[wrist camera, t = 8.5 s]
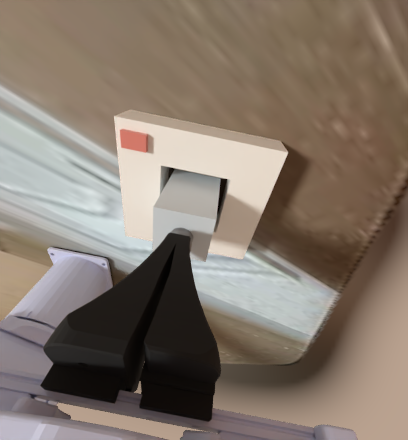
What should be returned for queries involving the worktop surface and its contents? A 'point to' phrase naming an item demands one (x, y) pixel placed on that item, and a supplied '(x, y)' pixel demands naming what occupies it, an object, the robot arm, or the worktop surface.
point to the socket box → (199, 163)
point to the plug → (187, 211)
